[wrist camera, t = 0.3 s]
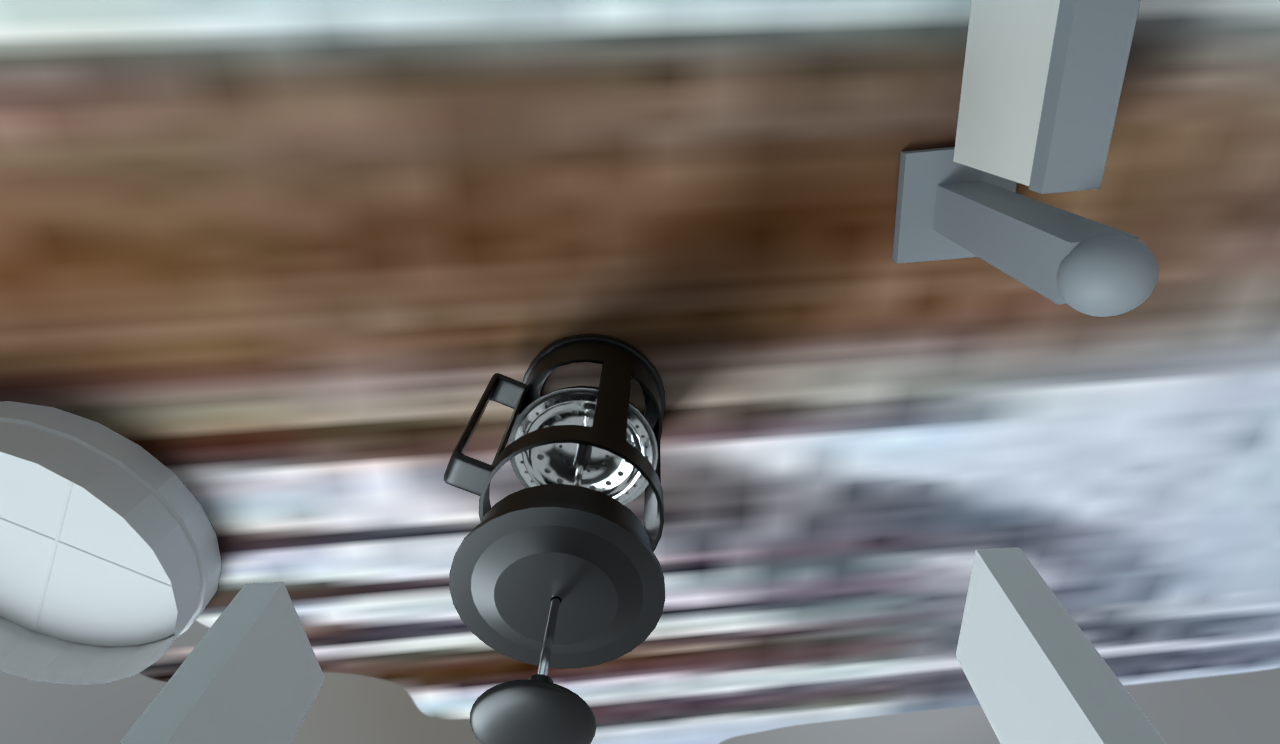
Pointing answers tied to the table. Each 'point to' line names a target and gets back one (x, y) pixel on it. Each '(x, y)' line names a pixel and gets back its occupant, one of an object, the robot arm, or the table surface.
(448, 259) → the table surface
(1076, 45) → the grey long flat block
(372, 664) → the table surface
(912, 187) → the posts
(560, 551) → the french press
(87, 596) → the dish
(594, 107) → the table surface
